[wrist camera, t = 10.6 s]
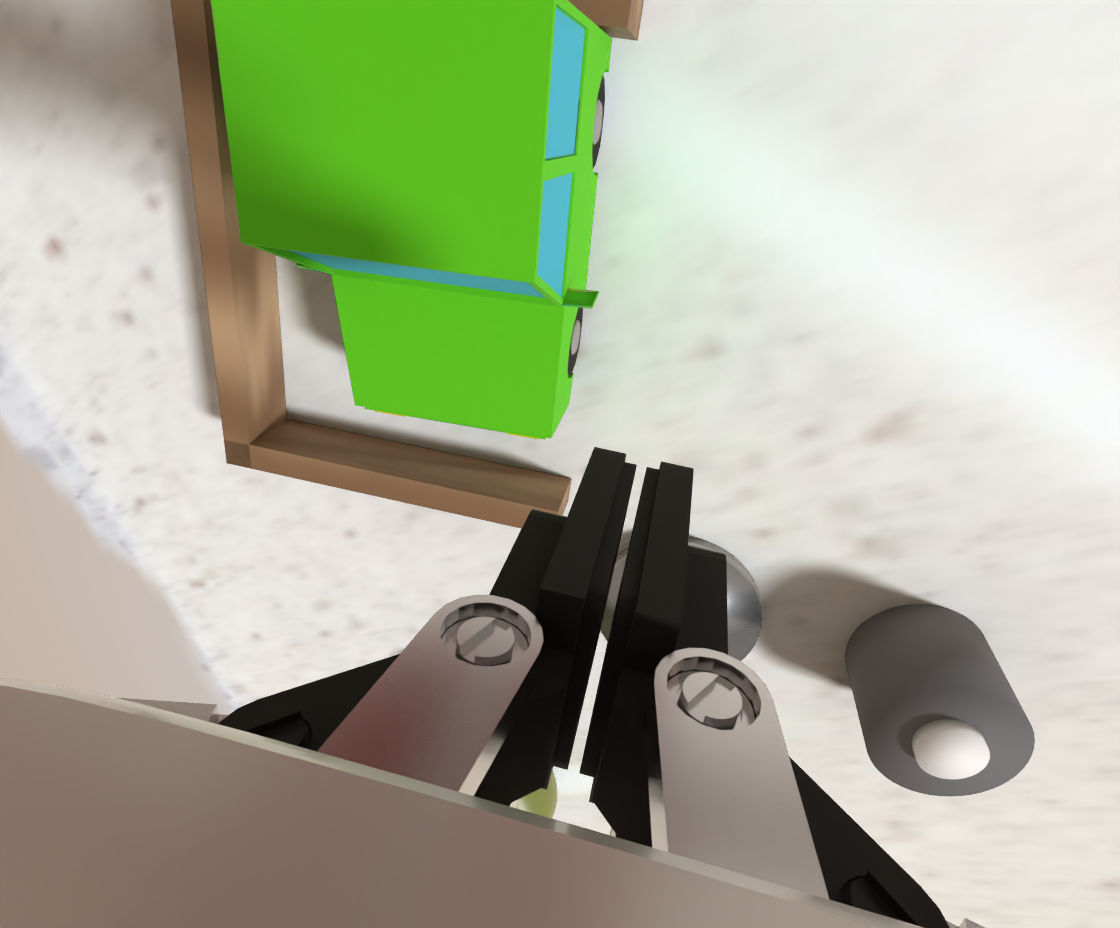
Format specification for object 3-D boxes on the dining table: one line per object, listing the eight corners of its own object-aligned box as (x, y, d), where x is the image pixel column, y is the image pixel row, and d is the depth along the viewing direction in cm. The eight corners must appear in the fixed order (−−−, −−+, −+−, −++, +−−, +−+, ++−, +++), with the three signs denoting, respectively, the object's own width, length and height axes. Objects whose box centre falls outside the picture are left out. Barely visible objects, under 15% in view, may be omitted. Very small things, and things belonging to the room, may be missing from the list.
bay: (222, -53, 24) (161, -75, 21) (644, -3, 22) (634, -21, 19) (265, 436, 33) (226, 463, 30) (567, 501, 31) (554, 535, 28)
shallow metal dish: (612, 520, 31) (609, 532, 30) (779, 556, 30) (781, 569, 29) (589, 644, 35) (585, 658, 34) (737, 680, 34) (738, 695, 33)
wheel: (869, 590, 30) (899, 680, 25) (1011, 621, 29) (1071, 721, 24) (828, 687, 33) (848, 786, 28) (956, 718, 32) (1000, 825, 27)
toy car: (378, 371, 30) (240, 470, 22) (364, 21, 24) (165, -39, 15) (601, 407, 29) (551, 528, 20) (647, 45, 23) (603, -7, 14)
